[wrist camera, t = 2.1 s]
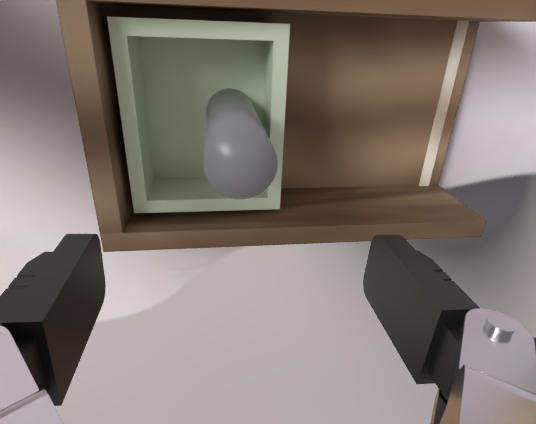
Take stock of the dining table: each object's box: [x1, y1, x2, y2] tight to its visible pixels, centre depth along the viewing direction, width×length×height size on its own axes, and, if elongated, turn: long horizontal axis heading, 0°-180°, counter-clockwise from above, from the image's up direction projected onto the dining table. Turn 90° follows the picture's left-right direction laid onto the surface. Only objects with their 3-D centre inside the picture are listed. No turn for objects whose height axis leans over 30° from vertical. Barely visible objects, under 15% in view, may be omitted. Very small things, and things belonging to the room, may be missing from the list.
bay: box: [56, 0, 536, 252], centre depth 23 cm, size 14×24×7 cm, turn 88°
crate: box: [107, 17, 290, 213], centre depth 20 cm, size 10×9×11 cm
